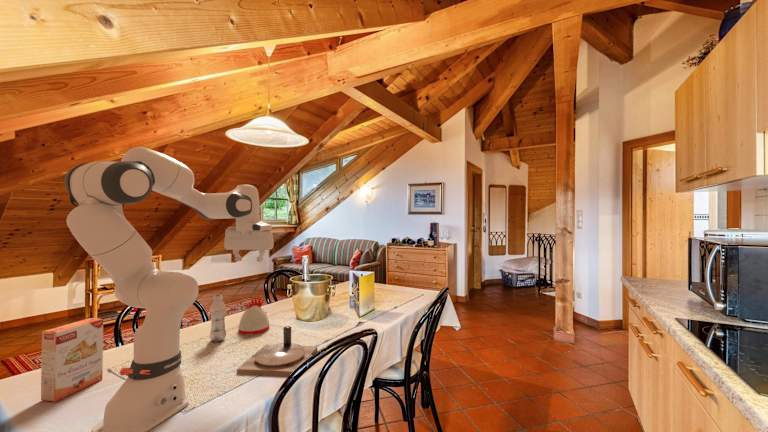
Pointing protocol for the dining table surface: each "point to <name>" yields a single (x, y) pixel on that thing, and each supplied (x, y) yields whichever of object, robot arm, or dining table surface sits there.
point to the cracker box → (71, 358)
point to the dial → (280, 352)
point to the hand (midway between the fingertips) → (249, 261)
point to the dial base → (286, 370)
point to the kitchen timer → (254, 319)
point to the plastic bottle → (217, 319)
